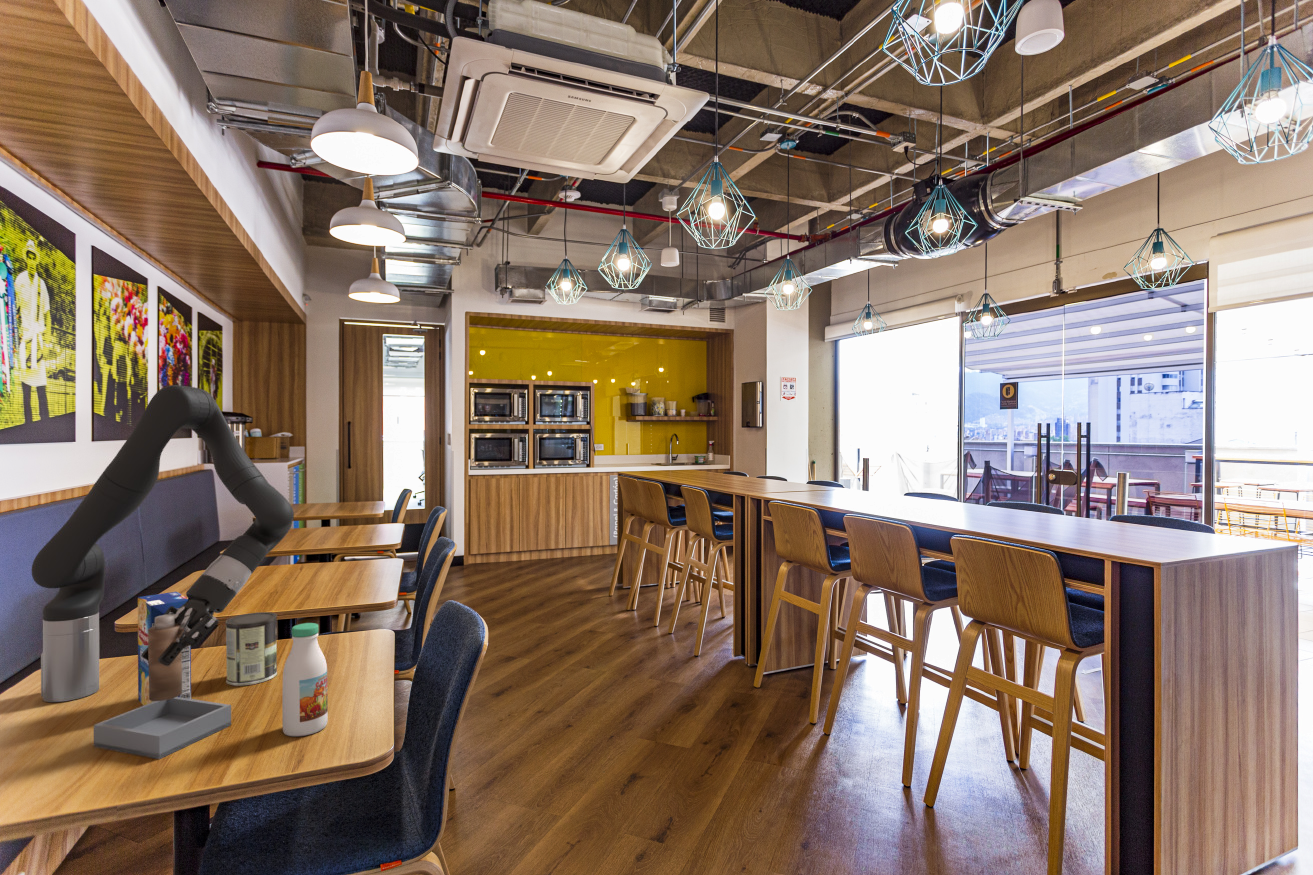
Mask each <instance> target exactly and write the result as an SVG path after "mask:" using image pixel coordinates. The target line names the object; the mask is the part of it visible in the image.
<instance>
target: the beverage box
mask: <svg viewBox="0 0 1313 875" xmlns="http://www.w3.org/2000/svg"><path fill="white" fill-rule="evenodd" d="M187 601H188V597H187V596H185V595H183V594H182V593H180V592H178V591H171V592H164V593H157V594H151V595H145V596H138V597H137V679H138V680H137V685H138V686H137V697H138V698H137V700H138V701H139V703H141V705H142V706H144V705H147V704H149V703H152V702H155V701H151V700H149V661H147V660H146V659H144V658H142V657H141V655H142V653H143V652H144V651H145V650H146V649H147V647H148V629H149V628H151V627H154V626H155V617H157V616H161V615H164V614H165V613H166V611H167V610H168V608H169V607H171V606H173V607H175V608H176V609H177V608H180V607H181V606H182V605H183V604H185V603H186V602H187ZM184 636H185V635H184ZM184 636H183V637H184ZM191 648H192V646H191V645H190V646H188V647H187V648H184V649H183V650H182V651H181V652H182V694H181V695H179V696H177V697H181V698H188V699H192V666H191V665H192V659H191V658H192V651H191V650H192V649H191Z"/></svg>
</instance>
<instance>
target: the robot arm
mask: <svg viewBox="0 0 1313 875" xmlns="http://www.w3.org/2000/svg"><path fill="white" fill-rule="evenodd" d="M181 429H191V431H193V432H194V433H195V434H196V436H198V437H199V438H201V441H203V443H204V444H205V445H206V446H207V448H208V450H209V453H210V455H211V458H212V463H213V467H214V470H215V472H216V474H217V477H218V478H219V480H220V481H221V483H223V485H224V486H225V488H226V489H227V490H228V491H229V493H230V495H231V496H232V497H233V498H234V499H235V500H236V501H237V502H238V503H239V504H241V505H245V506H246V507H247V509H248V510H249V511H250V512H251V513H252V515H253V516H254V518H255V519H254V521H253V523H252V524H251V525H250V526H249V527H248V528H247V529H246V531H245V532H244V533H243V534H242V535H241V534H240V535H239V536H237V537H235V538H234V539H233V540H232V541H231V543H230V544H229V545H228V546H227V547H226V548H225V549H224V551H222V552H221V554H220V555H219V556H218V557H217V558H215V560H214V561H212V562H211V563H210V564H209V566H208V567H207V568H206V569H205V570H204V571H203V572H202V574H201V575H200V576H199V577H198V578H197V579H196V580H195V582H193V584H191V585H190V587H189V588H188V589H187V590H186V592H185V595H186V596H185V597H187V598H188V601H187V602H186V603H185V604H183V605H182V606H181V607H180V608H177V609H176V608H175V607H173V606H171V607H169V608H168V610H167V611H166V613H165V614H164V615H168V614H173V615H174V618H175V623H178V624H181V625H180V627H179V633H178V635H177V636H176V638H175V640H174V642H175V643H173V642H172V643H171V644H170V645H169V647H168V648H167V649H166V650H165V651H164V652H163V654H162V655H161V656H160V657H159V658H158V662H160V663H161V664H163V665H165V666H169V665H170V664H171V663H172V662H173V661H174V659H175V658H176V657H177V656H178V655H179V653H180V652H181V651H182V650H183V649H184V648H187V647H188V646H190V645H191V648H194V647H196V646H197V645H198V644H199V643H200V642H201V641H202V640H203V639H204V638H205V637H206V636H207V635H208V634H209V633H210V632H211V631H212V630H213V629H214V628H215V627H217V625H218V624H219V623H220V620H219V619H218V618H217V617H216V616H214V614H220V613H223V612H224V610H225V609H226V608H227V607H228V605H230V603H231V602H232V601H233V600H234V598H235V597H236V596H237V594H238V593H239V592H240V591H241V590H242V589H243V587H244V586H245V584H246V583H247V582H248V581H249V578H250V577H251V575H252V574H253V573H254V572H255V571H256V569H257V568H258V567H259V566H260V564H261V563H262V562H263V560H264V559H265V558H266V556H267V555H268V554H269V553H271V551H273V549H274V548H276V546H277V545H278V544H279V543H280V542H281V541H282V540H283V539H285V537H286V536H287V534H288V533H289V532H290V530H291V528H292V525H293V521H294V517H295V512H294V508H293V507H292V505H291V503H290V502H289V501H288V500H287V498H286V497H285V496H284V495H283V494H282V493H281V492H279V491H278V489H276V488H275V487H274V486H273V485H271V484H270V483H269V482H268V480H267V478H266V477H265V476H264V475H263V474H262V472H261V471H260V470H259V468H258V467H257V465H255V463H254V462H253V461H252V459H250V457H249V456H248V455H247V452H245V450H244V449H243V447H242V446H241V444H240V443H239V441H238V439H237V438H236V435H235V434H234V432H233V430H232V429H231V427H230V425H229V423H228V421H227V420H226V418H225V416H224V414H223V413H222V410H221V409H220V407H219V405H218V403H217V401H216V400H215V399H214V397H213V396H212V394H211V393H209V392H208V391H207V390H205V389H203V388H200V387H195V386H188V385H180V384H179V385H178V384H170V385H169V384H168V385H167V386H163V387H162V388H161V389H159V390H158V391H156V392H155V393H154V395H153V396H152V398H151V399H150V400H149V402H148V404H147V406H146V408H145V409H144V411H143V412H142V414H141V416H140V418H139V420H138V422H137V423H136V426H135V427H134V429H133V430H132V432H131V433H130V435H129V437H128V438H127V439H126V440H125V442H124V444H123V445H122V446H121V448H120V449H119V450H118V452H117V453H116V455H115V456H114V458H113V459H112V460H111V461H110V463H109V464H108V465H107V466H106V468H105V469H104V470H103V472H102V473H101V475H100V476H99V477H98V478H97V480H96V481H95V483H94V484H93V486H92V487H91V489H90V490H89V491H88V493H87V494H86V496H85V497H84V498H83V500H82V501H81V502H80V503H79V505H78V506H77V507H76V509H75V510H74V512H73V513H72V514H71V515H70V517H69V518H68V520H67V521H66V522H65V524H63V525H62V527H61V528H59V530H58V531H57V532H56V533H55V534H54V535H53V536H52V538H50V539H49V541H48V542H46V544H45V545H44V546H43V547H42V548H41V549H40V550H39V551H38V553H37V554H36V556H35V558H34V560H33V562H32V566H31V576H32V579H33V581H34V582H35V584H36V585H37V586H40V587H42V588H45V589H59V590H58V592H57V593H56V595H55V596H54V597H53V598H52V599H51V600H50V601H49V602H48V603H46V604H45V605H44V606H43V607H42V608H43V609H42V652H41V654H40V697H41V698H42V700H43V701H44V702H47V703H60V702H68V701H73V700H77V699H82V698H84V697H88V696H91V695H93V694H95V693H96V692H98V691H99V690H100V604H101V602H102V600H103V598H104V594H105V593H104V592H105V578H106V559H105V554H104V551H103V550H102V548H101V547H100V545H98V544H97V542H98V541H99V540H100V539H102V537H103V536H105V535H106V534H107V533H108V532H109V531H111V530H112V529H113V528H115V527H116V526H117V525H119V524H121V523H122V522H123V521H124V520H126V519H127V518H128V517H130V516H131V515H132V514H133V513H134V512H135V511H137V509H138V508H139V507H140V506H141V505H142V504H143V502H144V501H145V500H146V498H147V497H148V496H149V494H150V492H152V490H153V489H154V488H155V485H156V484H157V481H158V478H159V475H160V464H161V463H160V462H161V456H162V453H163V451H164V449H165V447H166V446H167V445H168V443H169V442H170V440H171V439H172V438H173V437H174V435H175V434H176V433H178V431H179V430H181ZM184 635H185V636H184ZM183 636H184V637H183ZM141 657H142V658H144V659H146V660H147V661H149V655H148V647H147V649H146V650H145V651H144V652H143V653H142V655H141Z"/></svg>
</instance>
